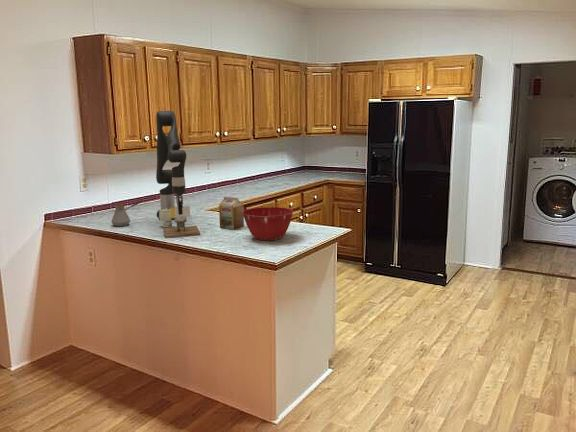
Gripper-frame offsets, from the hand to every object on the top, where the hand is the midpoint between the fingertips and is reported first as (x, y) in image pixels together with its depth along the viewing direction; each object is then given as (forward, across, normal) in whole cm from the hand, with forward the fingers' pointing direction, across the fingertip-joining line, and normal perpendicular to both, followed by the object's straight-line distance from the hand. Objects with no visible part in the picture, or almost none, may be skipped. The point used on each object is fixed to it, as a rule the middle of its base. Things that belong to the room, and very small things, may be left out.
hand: (180, 213), depth 297 cm
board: (+12, 0, 0) cm, 12 cm away
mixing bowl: (+12, +28, +46) cm, 55 cm away
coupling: (+5, 0, 0) cm, 5 cm away
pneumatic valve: (+12, -19, -7) cm, 24 cm away
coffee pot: (+12, -35, -30) cm, 48 cm away
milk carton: (+12, -4, +31) cm, 33 cm away
